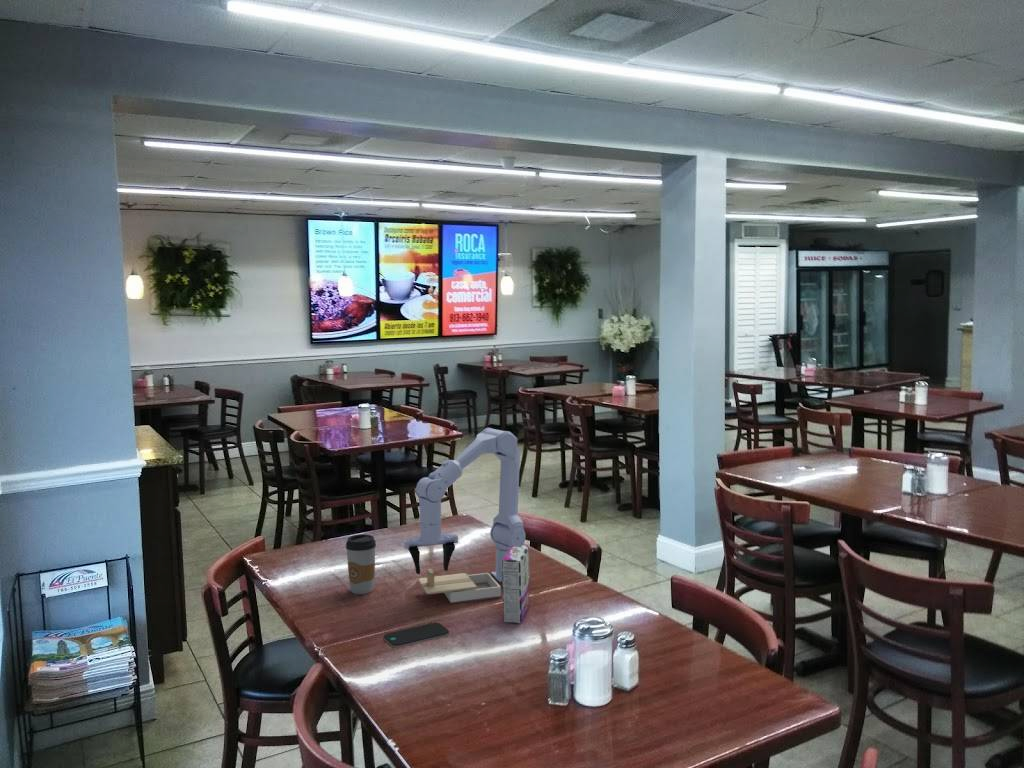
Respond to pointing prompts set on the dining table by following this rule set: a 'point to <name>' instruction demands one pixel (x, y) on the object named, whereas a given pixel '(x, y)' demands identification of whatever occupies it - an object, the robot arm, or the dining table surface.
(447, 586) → the beige sliding box lid
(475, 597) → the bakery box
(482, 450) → the robot arm
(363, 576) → the coffee cup
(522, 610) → the candy bar box
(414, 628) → the smartphone
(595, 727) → the dining table surface
